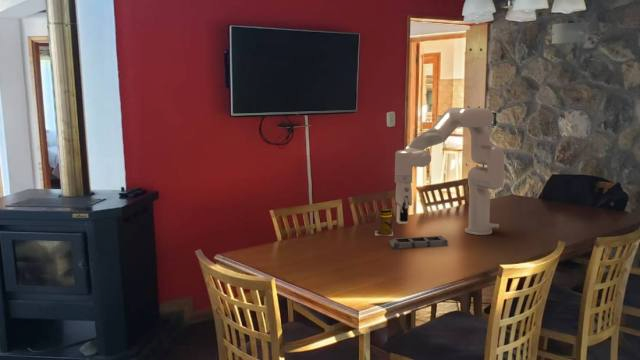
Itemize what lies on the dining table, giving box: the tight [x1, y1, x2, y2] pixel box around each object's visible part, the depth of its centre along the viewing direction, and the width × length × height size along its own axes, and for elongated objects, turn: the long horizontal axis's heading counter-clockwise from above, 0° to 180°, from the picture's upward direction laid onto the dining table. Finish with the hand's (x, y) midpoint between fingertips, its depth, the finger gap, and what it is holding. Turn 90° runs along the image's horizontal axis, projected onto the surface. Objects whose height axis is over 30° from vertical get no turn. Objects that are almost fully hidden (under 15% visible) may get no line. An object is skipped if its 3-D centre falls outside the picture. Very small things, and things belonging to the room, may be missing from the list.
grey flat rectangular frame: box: [389, 235, 448, 250], centre depth 251 cm, size 24×8×2 cm, turn 98°
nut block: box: [395, 203, 409, 225], centre depth 247 cm, size 4×4×8 cm
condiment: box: [374, 208, 394, 237], centre depth 270 cm, size 7×8×12 cm
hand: (402, 219), depth 248 cm, fingers closed on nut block, 4 cm apart
